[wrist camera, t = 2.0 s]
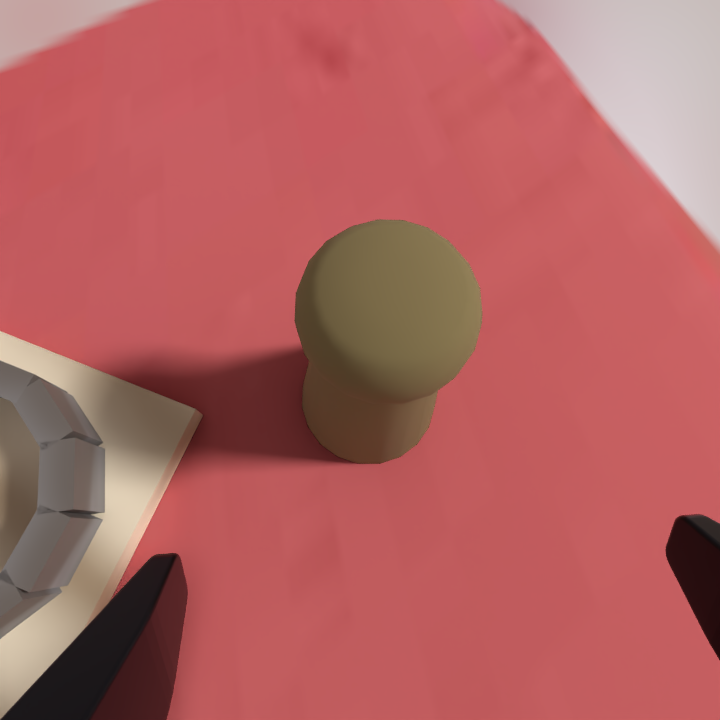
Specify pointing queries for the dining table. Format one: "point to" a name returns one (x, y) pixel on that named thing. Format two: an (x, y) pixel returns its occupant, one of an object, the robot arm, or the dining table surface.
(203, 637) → the dining table surface
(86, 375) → the collar board
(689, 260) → the dining table surface
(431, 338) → the cork
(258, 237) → the dining table surface
